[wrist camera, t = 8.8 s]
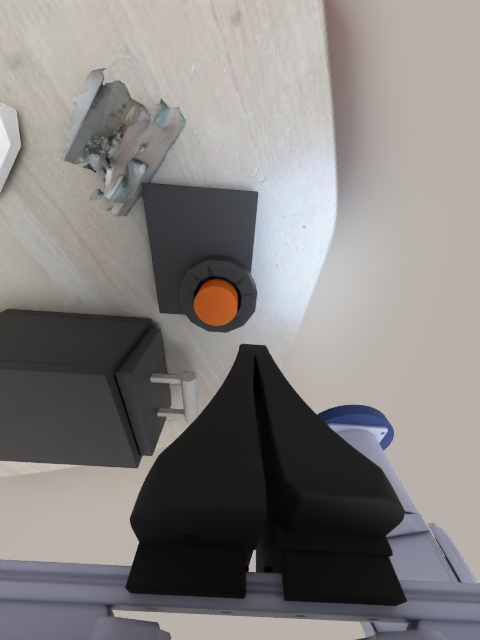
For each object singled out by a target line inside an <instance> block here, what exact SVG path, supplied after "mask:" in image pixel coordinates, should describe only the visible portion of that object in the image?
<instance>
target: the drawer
mask: <svg viewBox="0 0 480 640" xmlns="http://www.w3.org/2000/svg"><path fill="white" fill-rule="evenodd" d="M114 378H115V381H116V384H117V387H118V390H119V394H120V397H121V400H122V403H123V406H124V409H125V412H126V415H127V418H128V421H129V424H130V428H131V431H132V434H133V436H134V435H135V438H136V441H137V445H138V448H139V451H140V454H141V455H146V456H152V455H153V453H154V450H155V447H156V445H157V442H158V439H159V437H160V434H161V431H162V428H163V426H164V423H165V420H166V417H179V418H184V417H185V420H186V421H187V422H188V423H192V422H193V421H194V420H195V419H196V418H197V417H198V401H197V382H196V374H195V373H194V372H192V371H187V372H184V373H183V374H182V375H171V374H167V370H166V363H165V356H164V350H163V343H162V336H161V329H153V328H149V329H148V330H147V331H146V333H145V334H144V335H143V337H142V338H141V339H140V340H139V342H138V343H137V344H136V346H135V347H134V348H133V350H132V351H131V352H130V353H129V355H128V356H127V357H126V359H125V360H124V361H123V362H122V364H121V365H120V366H119V368H118V369H117V370H116V371H115V374H114ZM168 383H173V384H181V385H182V395H183V405H184V410H183V409H170V407H171V397H170V390H169V384H168Z"/></svg>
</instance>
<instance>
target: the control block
mask: <svg viewBox="0 0 480 640" xmlns="http://www.w3.org/2000/svg"><path fill="white" fill-rule="evenodd" d="M141 185H142V192H143V199H144V206H145V213H146V220H147V227H148V234H149V241H150V248H151V255H152V262H153V269H154V276H155V283H156V290H157V297H158V304H159V311H160V313H169V314H184V315H187V317H188V318H189V320H190V321H191V322H192V323H194V324H196V325H198V326H199V327H201V328H203V329H205V330H207V331H212V332H229V331H231V330H234V329H236V328H239V327H241V326H243V325H244V324H245V323H246V322H247V321H248V319H249V318H250V317H251V316H252V314H253V313H254V312H255V306H256V298H257V290H256V284H255V282H254V280H253V278H252V276H251V264H252V254H253V243H254V232H255V222H256V211H257V201H258V192H254V191H242V190H229V189H216V188H203V187H191V186H178V185H165V184H152V183H141ZM212 279H222V280H225V281H227V282H229V283H230V284H231V285H232V286H233V287H234V288H235V290H236V292H237V295H238V305H237V312H236V315H235V317H234V318H233V319H232V320H231V321H230V322H229V323H227V324H224V325H221V326H213V325H209V324H207V323H205V322H203V321H202V320H201V319H200V318H199V317H198V316H197V314H196V312H195V310H194V300H195V297H196V295H197V293H198V291H199V289H200V288H201V286H202V285H203V284H204V283H205V282H207V281H209V280H212Z"/></svg>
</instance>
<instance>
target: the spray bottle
mask: <svg viewBox="0 0 480 640" xmlns="http://www.w3.org/2000/svg"><path fill="white" fill-rule="evenodd" d="M20 148H21V142H20V134H19V126H18V119H17V111H16V110H15V109H14V108H12V107H10V106H8V105H5V104H3V103H0V193H1V191H2V188H3V186H4V184H5V181H6V179H7V177H8V175H9V172H10V170H11V168H12V166H13V163H14V161H15V159H16V157H17V154H18V152H19V150H20Z"/></svg>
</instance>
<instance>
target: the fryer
mask: <svg viewBox="0 0 480 640" xmlns="http://www.w3.org/2000/svg"><path fill="white" fill-rule="evenodd" d="M149 328H153V327H152V321H151V319H147V318H132V317H118V316H103V315H88V314H73V313H58V312H44V311H29V310H14V309H8V310H5V311H3V312H1V313H0V461H16V462H34V463H52V464H70V465H89V466H106V467H124V468H138V466H139V463H140V461H141V458H142V456H143V455H141V454H140V451H139V448H138V445H137V441H136V438H135V435H134V436H133V434H132V431H131V428H130V424H129V421H128V418H127V415H126V412H125V409H124V406H123V403H122V400H121V397H120V394H119V390H118V387H117V384H116V381H115V378H114V374H115V371H116V370H117V369H118V368H119V366H120V365H121V364H122V362H123V361H124V360H125V359H126V357H127V356H128V355H129V353H130V352H131V351H132V350H133V348H134V347H135V346H136V344H137V343H138V342H139V340H140V339H141V338H142V337H143V335H144V334H145V333H146V331H147V330H148V329H149Z"/></svg>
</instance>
